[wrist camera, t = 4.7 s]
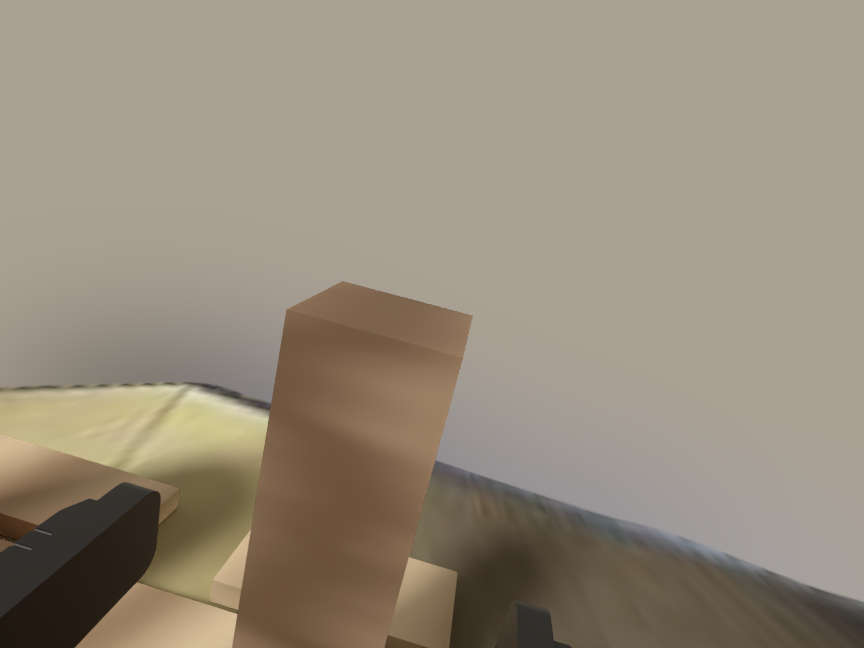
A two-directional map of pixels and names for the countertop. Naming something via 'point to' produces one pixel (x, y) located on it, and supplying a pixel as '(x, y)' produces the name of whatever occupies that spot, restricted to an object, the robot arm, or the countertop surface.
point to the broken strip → (81, 479)
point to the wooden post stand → (326, 482)
